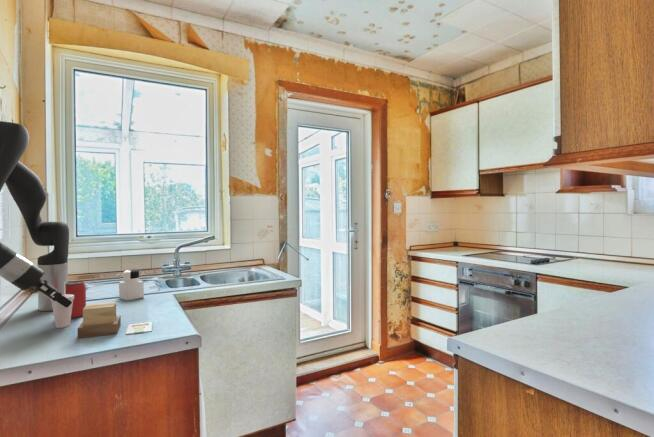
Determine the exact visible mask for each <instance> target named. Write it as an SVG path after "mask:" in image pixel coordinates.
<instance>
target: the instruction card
mask: <svg viewBox="0 0 654 437" xmlns="http://www.w3.org/2000/svg"><path fill="white" fill-rule="evenodd" d="M152 329H153V321H147V322H139V323H130V324H129V323H128V326H127V328H126V331H125V335H126V336H127V335H136V334H142V333H143V334H144V333H149V332H151V333H152Z"/></svg>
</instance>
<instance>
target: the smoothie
mask: <svg viewBox="0 0 654 437" xmlns="http://www.w3.org/2000/svg"><path fill="white" fill-rule="evenodd" d="M63 296H64V297H66V298H67V299H69V300H70V301H71V302H72V303H71V304H70V305H69V306H68V307H64V306H63V305H61V304H60V303H58V302H57V301H53V299H51V298H50V301H52V307H53V310H52V312H53V318H54V322H55V323H54V324H55V328H58V329H61V328H62V329H63V328H68V327H70V326H71V322H72V321H71V319H72V318H71V313H72V305H73V299H74V295H73V294H66V292H65V283H63ZM53 297H54V296H53Z"/></svg>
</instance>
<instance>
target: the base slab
mask: <svg viewBox="0 0 654 437" xmlns="http://www.w3.org/2000/svg"><path fill="white" fill-rule="evenodd" d="M121 322H122V317H121V315H116V319H115V321H114V323H105V324H96V325H86V326H83V321H82V322H81V323H80V324H79V325H78V327H77V339H84V338H92V337H100V336H110V335H112V336H113V335H117V334H118V332H119V330H120V327H121V325H122V323H121Z"/></svg>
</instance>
